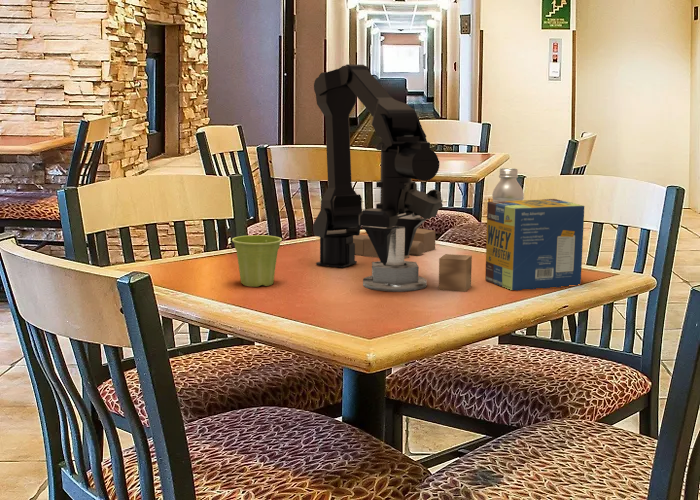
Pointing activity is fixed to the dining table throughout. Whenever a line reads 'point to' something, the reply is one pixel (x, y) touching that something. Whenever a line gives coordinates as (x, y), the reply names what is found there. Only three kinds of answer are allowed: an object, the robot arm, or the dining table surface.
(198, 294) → the dining table surface
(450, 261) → the brown wooden block
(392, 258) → the tan elongated piece
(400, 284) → the socket
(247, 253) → the plant pot
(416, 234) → the wooden block set
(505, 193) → the plastic bottle
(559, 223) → the protein box
